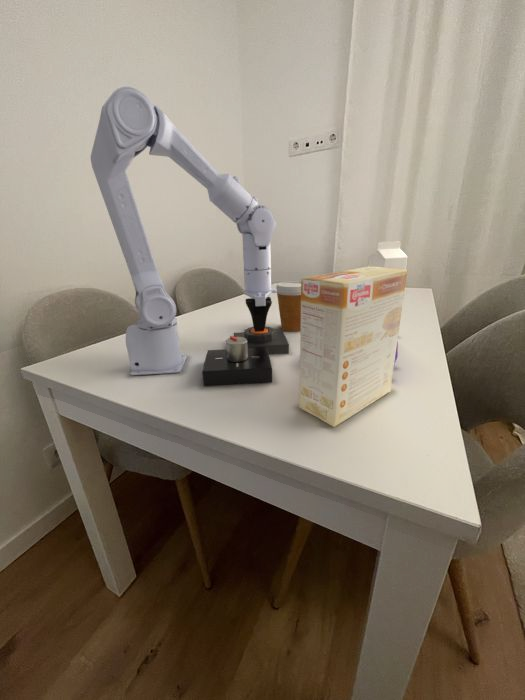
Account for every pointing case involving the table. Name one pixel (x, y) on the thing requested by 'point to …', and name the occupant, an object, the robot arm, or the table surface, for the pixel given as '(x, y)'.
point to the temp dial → (236, 349)
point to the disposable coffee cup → (290, 305)
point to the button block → (266, 340)
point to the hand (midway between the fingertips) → (259, 330)
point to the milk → (388, 256)
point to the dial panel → (237, 368)
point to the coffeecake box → (348, 339)
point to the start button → (259, 331)
